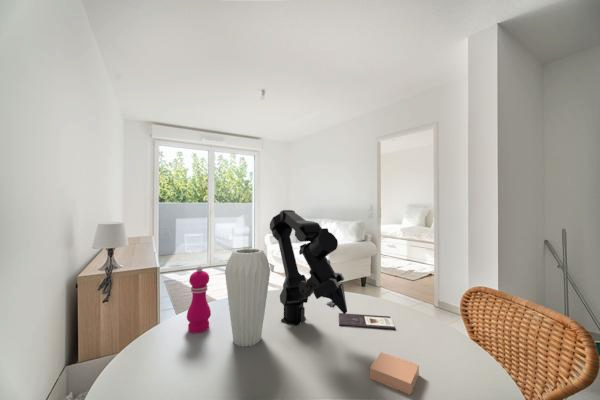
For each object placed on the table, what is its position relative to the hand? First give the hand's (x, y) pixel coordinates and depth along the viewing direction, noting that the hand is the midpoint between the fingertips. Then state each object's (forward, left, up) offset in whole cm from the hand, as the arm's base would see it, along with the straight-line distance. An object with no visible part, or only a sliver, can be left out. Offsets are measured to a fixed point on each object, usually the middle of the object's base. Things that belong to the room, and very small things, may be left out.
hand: (345, 312), depth 71 cm
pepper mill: (-45, -13, -11) cm, 48 cm away
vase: (-27, -10, -11) cm, 31 cm away
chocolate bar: (0, +20, -11) cm, 23 cm away
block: (+9, -4, -9) cm, 14 cm away
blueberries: (-16, +28, -11) cm, 34 cm away
